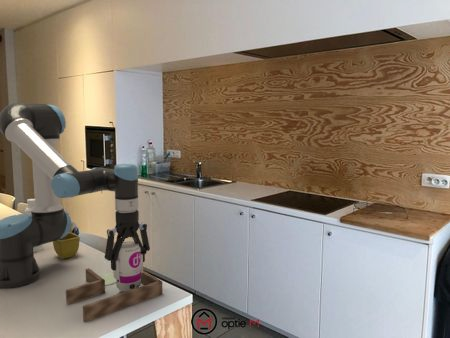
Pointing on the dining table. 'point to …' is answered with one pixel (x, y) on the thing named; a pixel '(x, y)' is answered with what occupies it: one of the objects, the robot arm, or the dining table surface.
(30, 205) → the spray bottle
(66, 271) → the dining table surface
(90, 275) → the channel walls
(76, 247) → the flower pot
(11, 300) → the dining table surface
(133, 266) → the supplement can
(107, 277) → the pad
